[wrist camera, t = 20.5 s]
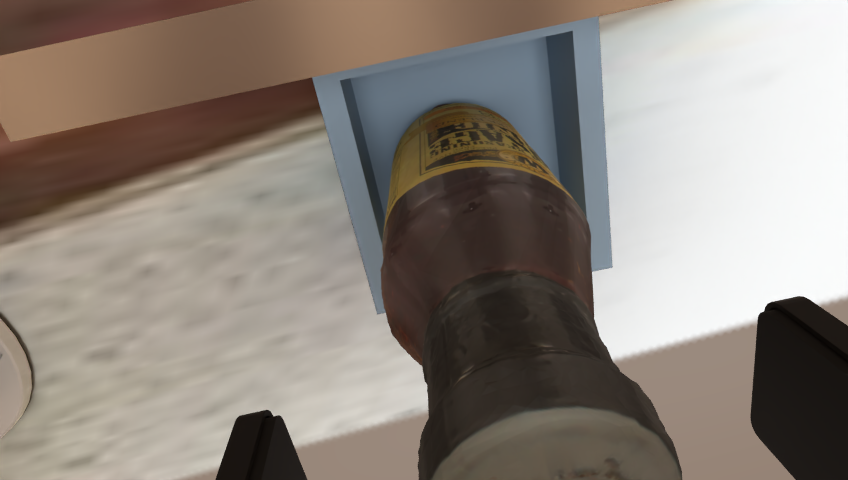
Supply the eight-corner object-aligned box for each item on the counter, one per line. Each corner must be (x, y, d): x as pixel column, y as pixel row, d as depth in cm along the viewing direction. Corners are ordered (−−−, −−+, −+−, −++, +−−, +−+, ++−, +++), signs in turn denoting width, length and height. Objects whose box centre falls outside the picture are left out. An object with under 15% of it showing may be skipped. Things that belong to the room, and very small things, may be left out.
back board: (178, 78, 25) (10, 142, 14) (161, 33, 24) (-32, 62, 13) (693, -33, 24) (945, -59, 13) (694, -84, 23) (963, -156, 12)
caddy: (379, 265, 29) (377, 314, 25) (322, 47, 25) (306, 59, 20) (577, 225, 29) (612, 267, 24) (558, -4, 24) (597, -4, 20)
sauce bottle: (542, 130, 26) (897, 441, 8) (481, 238, 28) (644, 679, 10) (419, 69, 24) (498, 277, 6) (364, 188, 26) (306, 599, 8)
